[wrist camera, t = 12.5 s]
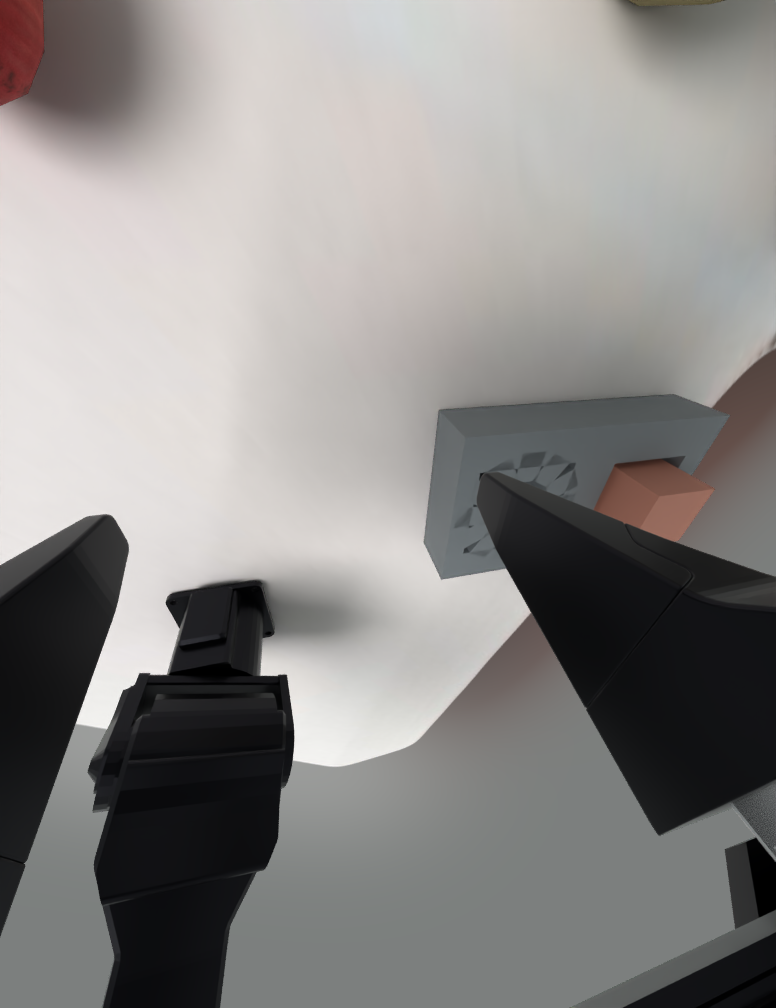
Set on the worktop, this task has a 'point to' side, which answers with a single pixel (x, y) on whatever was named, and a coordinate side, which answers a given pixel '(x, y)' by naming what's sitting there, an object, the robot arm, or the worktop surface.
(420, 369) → the worktop surface
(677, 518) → the square peg
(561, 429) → the socket block
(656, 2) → the squeeze bottle
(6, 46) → the onion
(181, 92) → the worktop surface
